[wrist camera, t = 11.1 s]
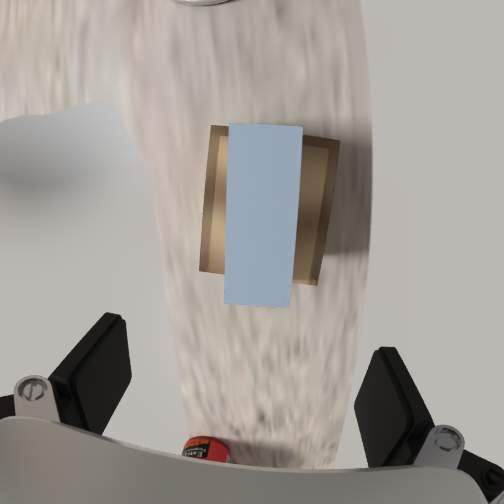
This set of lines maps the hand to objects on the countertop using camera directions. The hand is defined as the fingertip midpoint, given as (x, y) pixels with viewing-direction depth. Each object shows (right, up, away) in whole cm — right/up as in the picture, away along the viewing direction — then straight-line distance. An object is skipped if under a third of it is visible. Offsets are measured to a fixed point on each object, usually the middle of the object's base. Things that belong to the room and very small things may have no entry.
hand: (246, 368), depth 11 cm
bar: (+1, +8, +14) cm, 16 cm away
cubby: (+2, +10, +22) cm, 24 cm away
